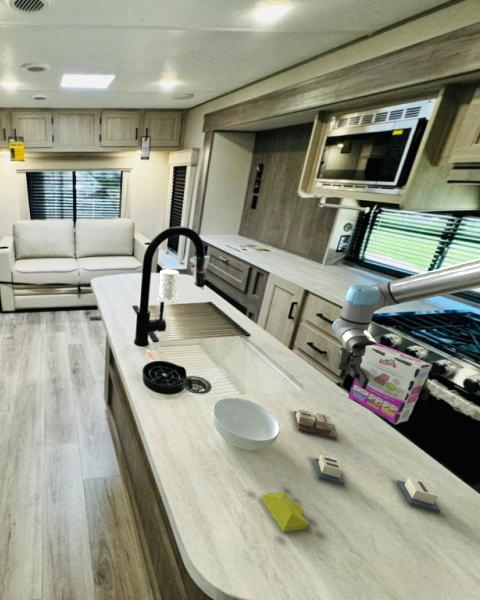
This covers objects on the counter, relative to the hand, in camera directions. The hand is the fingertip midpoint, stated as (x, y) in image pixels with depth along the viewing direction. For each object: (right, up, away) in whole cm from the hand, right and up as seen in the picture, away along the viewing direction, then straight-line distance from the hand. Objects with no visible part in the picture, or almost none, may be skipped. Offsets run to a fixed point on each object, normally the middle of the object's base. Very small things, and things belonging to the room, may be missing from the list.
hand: (395, 389), depth 74 cm
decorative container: (-22, +21, +118) cm, 121 cm away
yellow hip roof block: (-30, -26, -5) cm, 40 cm away
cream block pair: (-6, -16, +19) cm, 25 cm away
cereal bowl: (-29, -18, +16) cm, 38 cm away
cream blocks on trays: (-5, -23, +1) cm, 24 cm away
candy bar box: (+2, -7, +7) cm, 10 cm away
